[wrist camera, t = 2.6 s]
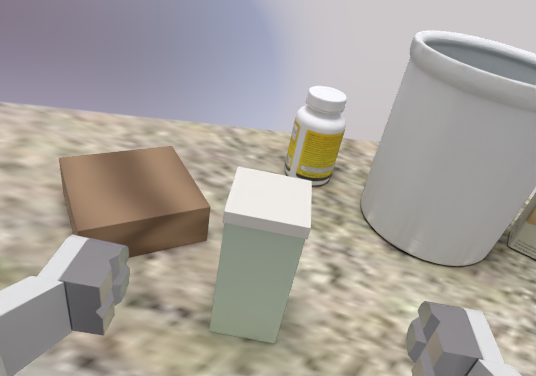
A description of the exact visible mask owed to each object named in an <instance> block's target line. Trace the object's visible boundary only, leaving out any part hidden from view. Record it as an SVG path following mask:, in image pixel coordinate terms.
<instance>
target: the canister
mask: <svg viewBox="0 0 536 376" xmlns="http://www.w3.org/2000/svg"><path fill="white" fill-rule="evenodd" d="M311 189H312V181H309V180H304V179H299V178H294V177H289V176H284V175H279V174H274V173H268V172H263V171H258V170H253V169H248V168H243V167H238V168H237V172H236V175H235V178H234V181H233V184H232V188H231V191H230V194H229V197H228V201H227V204H226V207H225V210H224V216H223V223H225V224H224V231H223V238H222V245H221V252H220V259H219V266H218V273H217V280H216V287H215V294H214V301H213V308H212V315H211V322H210V329H209V331H210V332H216V333H221V334H226V335H231V336H236V337H242V338H247V339H252V340H257V341H262V342H268V343H273V344H275V342H276V338H277V335H278V331H279V328H280V325H281V321H282V318H283V314H284V311H285V307H286V304H287V300H288V297H289V293H290V290H291V287H292V283H293V280H294V276H295V273H296V269H297V266H298V262H299V259H300V256H301V252H302V249H303V245H304V242H305V239H308V235H309V232H310V229H311Z"/></svg>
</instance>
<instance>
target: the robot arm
mask: <svg viewBox="0 0 536 376" xmlns="http://www.w3.org/2000/svg"><path fill="white" fill-rule="evenodd" d="M128 257H129V250H128V247H127V246H125V245H121V244H116V243H111V242H107V241H102V240H97V239H92V238H86V237H81V236H77V235H71V236H69V237H68V238H67V239H66V240H65V241H64V242H63V244H62V245H61V246H60V248H59V249H58V250H57V251H56V253H55V254H54V255H53V257H52V258H51V259H50V260H49V262H48V263H47V264H46V266H45V267H44V268H43V269H42V271H41V272H40V273H39V275H38V276H37V277H34V276H30V277H28V278H26V279H24V280H22V281H20V282H17V283H15V284H13V285H11V286H9V287H7V288H5V289H3V290H1V291H0V376H13V375H15V374H16V373H17V372H19V371H20V370H21V369H23V368H24V367H25V366H27V365H28V364H29V363H31V362H32V361H33V360H35V359H36V358H38V357H39V356H40V355H42V354H43V353H44V352H46V351H47V350H48V349H50V348H51V347H52V346H54V345H55V344H56V343H58V342H59V341H61V340H62V339H63V338H65V337H66V336H67V335H69V334H70V333H71V332H72V331H78V332H85V333H91V334H98V335H105V333H106V331H107V329H108V327H109V325H110V323H111V321H112V319H113V317H114V315H115V314H114V306H115V305H117V304H118V303H120V302H121V301H122V299H123V297H124V295H125V293H126V290H127V286H128V283H129V276H130V269H129V267H128V266H127V265H126V261H127V259H128ZM418 313H419V318H417V319H415V320H413V321H412V322H411V324H410V326H409V328H408V333H407V339H406V340H407V351H408V355H409V357H410V358H411V359H412V360H413V361H414V362H415V365H414V367H413V368H412V370H411V371H412V375H413V376H521V375H520V374H519V373H518V372H517V371H516V370H515V369H514V368H513V367H512V366H511V365H507V364H505V362H504V360H503V358H502V355H501V353H500V351H499V348H498V346H497V344H496V341H495V339H494V337H493V334H492V332H491V330H490V327H489V325H488V323H487V320H486V318H485V315H484V314H483V313H482V312H481V311H478V310H473V309H467V308H460V307H455V306H450V305H444V304H438V303H433V302H427V301H425V302H423V303H422V304H421V305H420V307H419V309H418ZM71 330H72V331H71Z"/></svg>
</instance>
